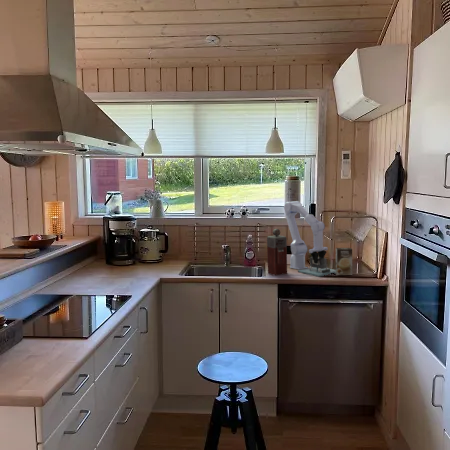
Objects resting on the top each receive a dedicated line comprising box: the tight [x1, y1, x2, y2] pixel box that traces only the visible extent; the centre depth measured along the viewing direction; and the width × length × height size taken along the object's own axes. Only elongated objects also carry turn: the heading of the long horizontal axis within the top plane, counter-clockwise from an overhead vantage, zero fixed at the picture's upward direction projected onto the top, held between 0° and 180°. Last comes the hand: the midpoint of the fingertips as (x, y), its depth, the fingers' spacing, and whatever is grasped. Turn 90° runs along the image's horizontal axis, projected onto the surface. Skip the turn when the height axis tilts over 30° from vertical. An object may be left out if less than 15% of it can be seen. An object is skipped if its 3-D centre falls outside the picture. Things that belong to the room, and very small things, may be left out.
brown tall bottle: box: [266, 228, 288, 276], centre depth 279 cm, size 9×11×28 cm
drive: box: [309, 256, 328, 269], centre depth 280 cm, size 10×4×6 cm, turn 35°
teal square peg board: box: [297, 265, 336, 277], centre depth 280 cm, size 18×18×4 cm
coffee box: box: [335, 247, 353, 276], centre depth 270 cm, size 9×6×16 cm
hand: (318, 262), depth 280 cm, fingers closed on drive, 4 cm apart
